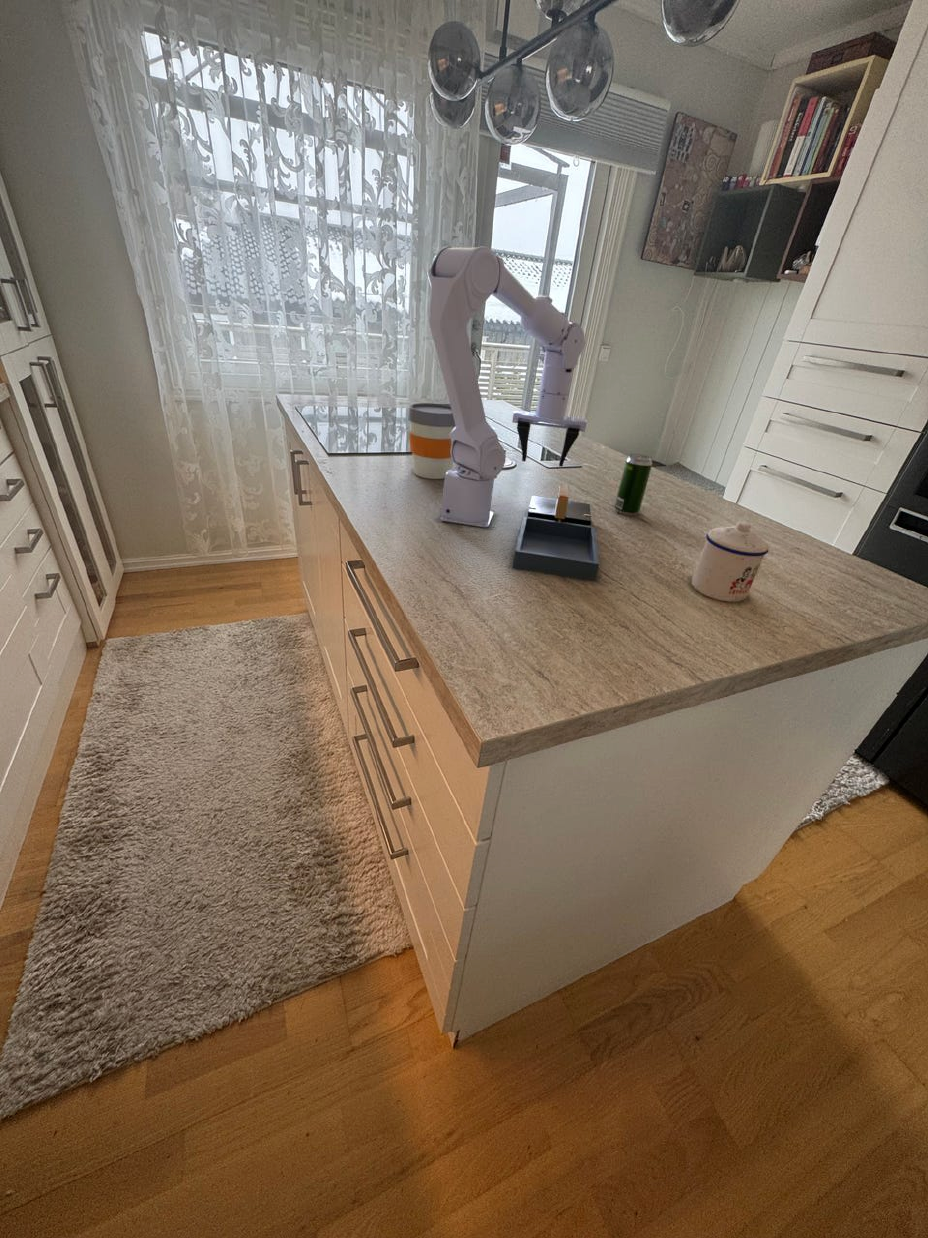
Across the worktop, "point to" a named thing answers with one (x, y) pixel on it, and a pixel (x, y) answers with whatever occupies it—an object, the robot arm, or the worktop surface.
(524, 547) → the tray
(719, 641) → the worktop surface
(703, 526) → the worktop surface
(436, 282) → the robot arm
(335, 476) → the worktop surface
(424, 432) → the reusable coffee cup
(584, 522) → the black cupboard
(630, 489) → the beer can
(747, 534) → the teacup with lid
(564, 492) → the yellow-brown long block
